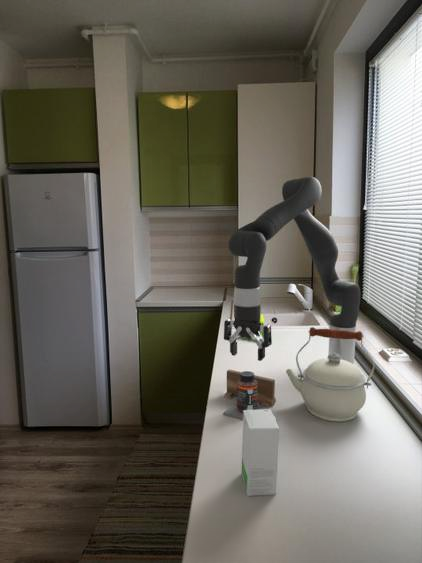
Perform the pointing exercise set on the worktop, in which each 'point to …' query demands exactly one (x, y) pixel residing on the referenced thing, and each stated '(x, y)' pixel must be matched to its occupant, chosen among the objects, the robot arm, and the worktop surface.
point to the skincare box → (259, 452)
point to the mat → (235, 413)
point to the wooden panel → (263, 388)
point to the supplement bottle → (246, 392)
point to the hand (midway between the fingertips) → (247, 357)
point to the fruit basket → (261, 324)
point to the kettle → (332, 381)
